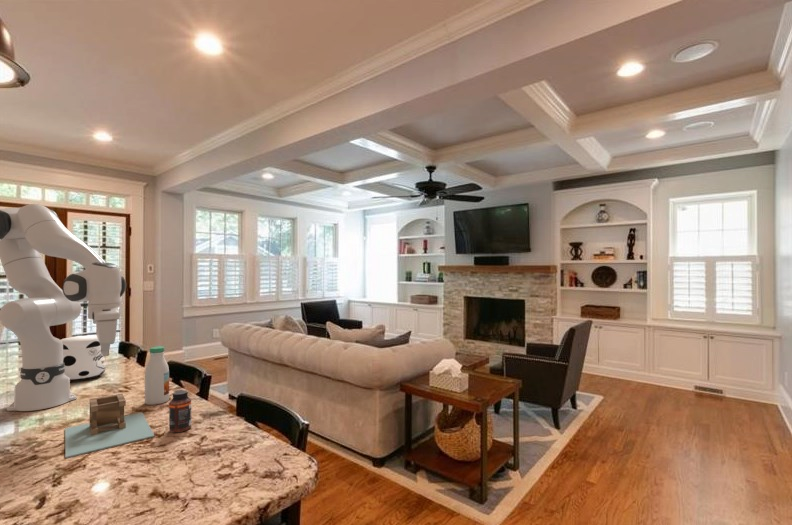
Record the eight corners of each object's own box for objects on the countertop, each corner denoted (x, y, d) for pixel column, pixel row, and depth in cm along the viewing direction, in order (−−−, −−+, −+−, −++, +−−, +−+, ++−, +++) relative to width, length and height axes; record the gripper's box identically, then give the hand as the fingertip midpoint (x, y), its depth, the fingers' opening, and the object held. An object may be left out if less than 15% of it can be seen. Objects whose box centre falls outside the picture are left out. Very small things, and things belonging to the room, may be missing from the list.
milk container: (113, 376, 180) (112, 336, 180) (65, 386, 165) (65, 343, 165) (96, 371, 189) (96, 333, 189) (50, 380, 174) (50, 339, 174)
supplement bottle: (195, 426, 123) (195, 390, 123) (179, 434, 117) (179, 396, 117) (181, 424, 125) (181, 388, 125) (164, 431, 119) (164, 394, 119)
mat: (65, 429, 121) (65, 428, 121) (142, 413, 134) (142, 412, 134) (65, 458, 103) (65, 456, 103) (154, 436, 116) (154, 435, 116)
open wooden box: (89, 426, 122) (89, 399, 122) (122, 419, 128) (122, 393, 128) (91, 435, 116) (91, 406, 116) (125, 427, 121) (125, 400, 121)
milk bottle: (157, 406, 141) (157, 350, 141) (139, 404, 143) (139, 349, 143) (174, 399, 149) (174, 345, 149) (156, 397, 150) (156, 345, 150)
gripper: (91, 310, 135) (91, 350, 135) (94, 315, 119) (94, 361, 119) (113, 308, 139) (113, 348, 139) (120, 314, 123) (120, 358, 123)
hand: (105, 354), depth 129 cm, fingers open, 3 cm apart
